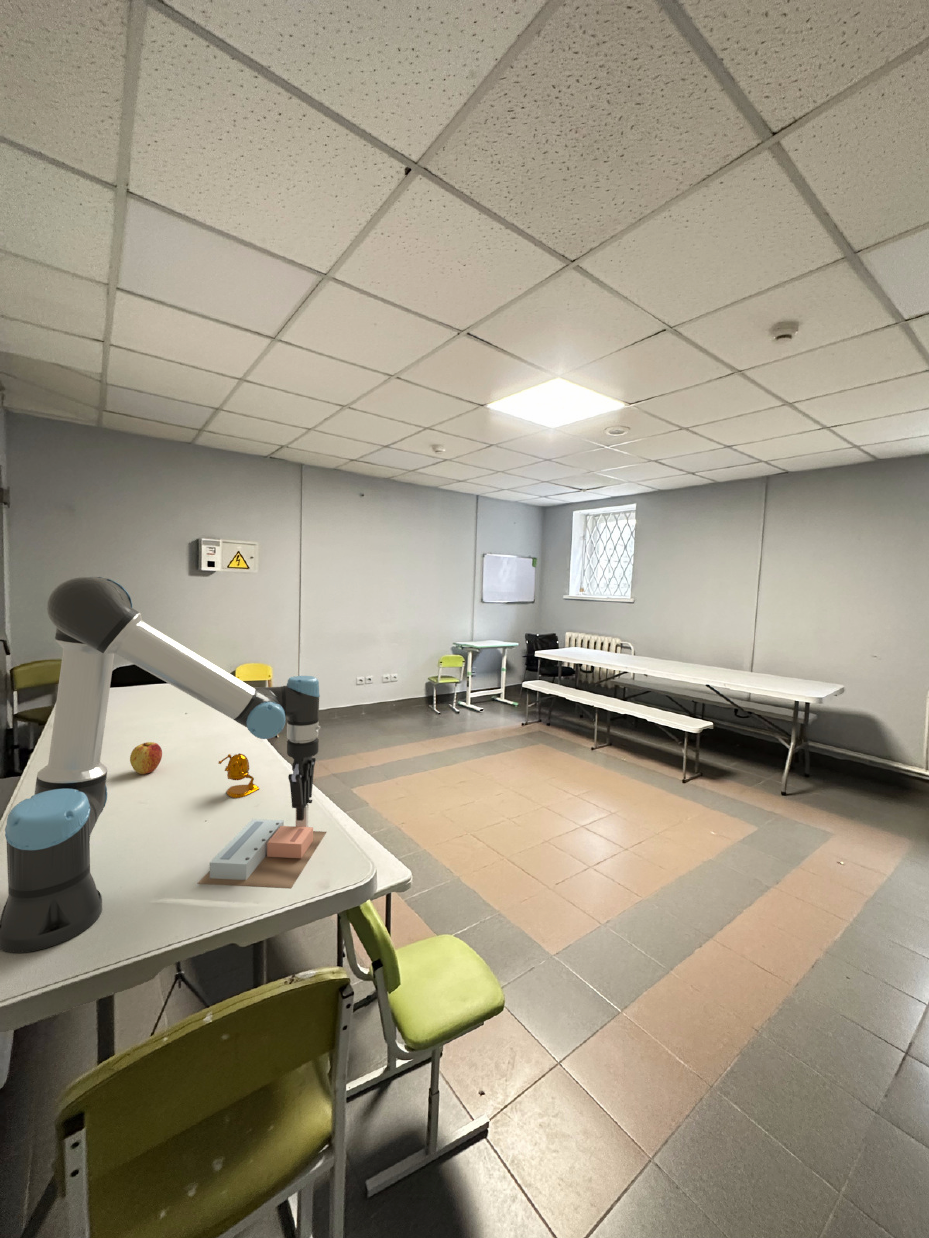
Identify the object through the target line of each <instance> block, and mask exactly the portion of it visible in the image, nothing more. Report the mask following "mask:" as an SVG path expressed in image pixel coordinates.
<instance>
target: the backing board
mask: <svg viewBox="0 0 929 1238" xmlns="http://www.w3.org/2000/svg"><path fill="white" fill-rule="evenodd" d="M327 833H328V832H327V831H323V830H321V831H319V830H313V842H312V843H311V845H310V846H309V848H308V849H307V851H306V852H305V854H304V855H303V857H302V858H284V857H267V855H266V856H265V857H264V859H263V860H262V861H261V862H260V864H259V865H258V866H257V867H256V869H255V870H254V871H253V872H252V874H251V875H250V876H249V877H248V879H247V880H235V879H216V878H210V870H209V871H208V872H207V873H206V874H204V876H203V877H202V878H201V879H200V880H199V881H198V882H197V884H198V885H215V886H217V885H218V886H219V885H221V886H238V887H256V888H275V889H276V888H278V889H292V888H293V887H294V885H295V884H296V881H297V880H298V879H299V877H300V876H301V875H302V874H301V873H303V871H304V869H305V867H306V866H307V864H308V862H310V859H311V858H312V856H313V854H314V853H315V852H316V850H317V849H318V847H319V845H320V844H321V842H322V840H323V839H324V837H325V835H326V834H327Z"/></svg>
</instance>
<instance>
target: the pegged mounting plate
mask: <svg viewBox="0 0 929 1238" xmlns="http://www.w3.org/2000/svg"><path fill="white" fill-rule="evenodd" d="M284 823H285V821H284V820H283V819H267V818H266V819H264V818H263V819H262V818H252V819H250V821H249V822H248V823H247V824H245V826H244V827H242V829H241V830H240V831H239V832H238V833H237V834H236V835H235V836H234V837H233V838H232V839H231V840H230V841H229V842H228V843H227V844H226V845H225V846H224V847H223V848H222V849H221V850H220V851H219V852H218V853H217V855H215V856H214V857H213V858H212V860H211V861H209V871H210V878H216V879H235V880H247V879H248V877H249V876H250V875H251V874H252V872H253V871H254V870H255V869H256V867H257V866H258V865H259V864H260V862H261V861H262V860H263V859H264V857H265V856H266V855H267V842H268V841H269V840H270V839H271V837H272V836H273V835H274V834H275V833H276V832H277V830H278V829H279V828H280V827H281V826H285V825H284Z"/></svg>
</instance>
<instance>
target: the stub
mask: <svg viewBox="0 0 929 1238" xmlns="http://www.w3.org/2000/svg"><path fill="white" fill-rule="evenodd" d="M313 831H314V827H311V826H310V827H309V826H308V827H296V826H295V825H294V826H289V825H284V826H281V827H280V828H279V829H278V830H277V832H276V833H275V834H274V835H273V836H272V837H271V839H270V840H269V841H268V842H267V857H284V858H302V857H303V855H304V854H305V852H306V851H307V849H308V848H309V846H310V845H311V843H312V842H313Z"/></svg>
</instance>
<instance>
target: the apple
mask: <svg viewBox="0 0 929 1238" xmlns="http://www.w3.org/2000/svg"><path fill="white" fill-rule="evenodd" d="M162 757H163V751H162V747H161V746H160V745H159V744H158V743H157V742H154V741H153V742H152V741H148V742H144V743H141V744H139V745H137V746H135V747H133V749H132V751H131V753H130V756H129V763H130V765H131V767H132V769H133V770H134V771H135V772H136V773H137V774H139V775H146V774H150V773H152V772H154V771H155V770H156V769H157V768H158V766H159V765H160V763H161V761H162Z"/></svg>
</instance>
